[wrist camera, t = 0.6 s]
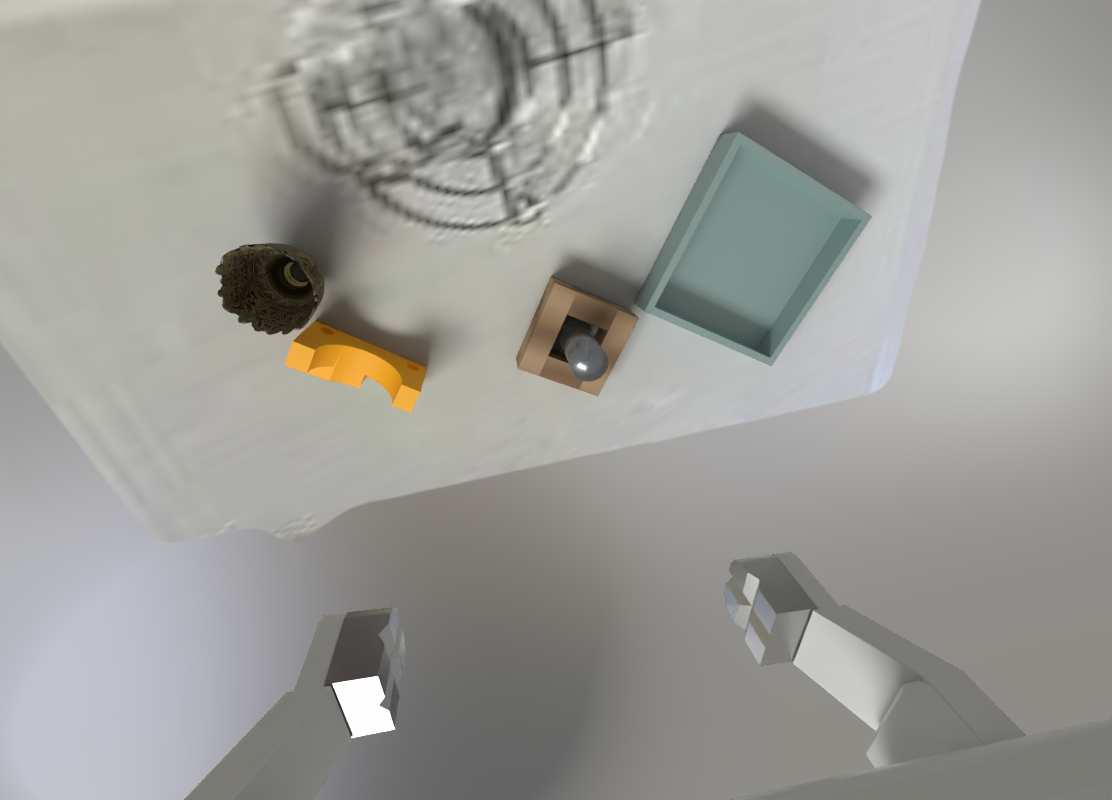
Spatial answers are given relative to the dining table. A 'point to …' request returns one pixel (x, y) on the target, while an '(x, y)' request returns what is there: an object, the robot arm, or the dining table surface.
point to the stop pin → (582, 351)
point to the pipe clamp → (355, 363)
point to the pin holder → (548, 323)
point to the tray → (750, 250)
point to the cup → (270, 287)
